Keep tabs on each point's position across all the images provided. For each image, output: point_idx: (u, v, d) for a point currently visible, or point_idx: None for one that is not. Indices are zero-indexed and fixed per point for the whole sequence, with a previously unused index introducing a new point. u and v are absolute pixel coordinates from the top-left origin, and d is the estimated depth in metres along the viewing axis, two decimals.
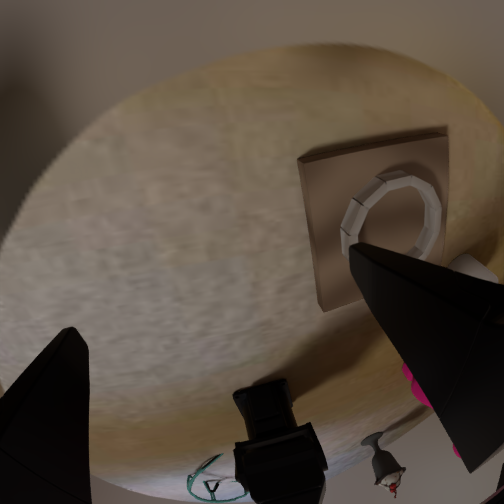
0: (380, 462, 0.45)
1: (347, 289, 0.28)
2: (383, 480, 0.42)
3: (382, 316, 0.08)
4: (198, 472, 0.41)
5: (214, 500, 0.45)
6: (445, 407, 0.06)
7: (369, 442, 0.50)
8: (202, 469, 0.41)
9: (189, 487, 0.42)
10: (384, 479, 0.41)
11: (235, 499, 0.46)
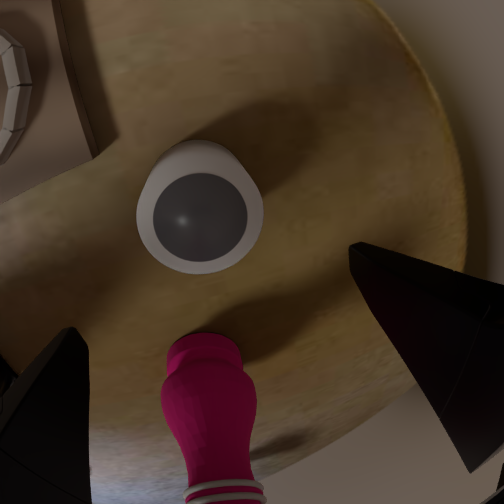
0: None
1: None
2: None
3: (382, 316, 0.08)
4: None
5: None
6: (445, 407, 0.06)
7: None
8: None
9: None
10: None
11: None
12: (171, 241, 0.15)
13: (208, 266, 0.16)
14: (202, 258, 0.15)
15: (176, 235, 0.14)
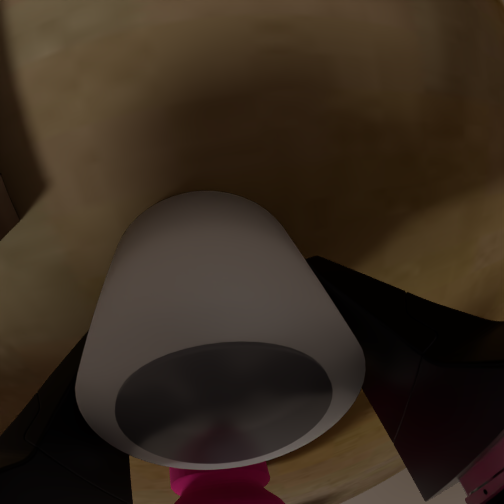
0: None
1: None
2: None
3: None
4: None
5: None
6: (396, 433, 0.06)
7: None
8: None
9: None
10: None
11: None
12: (164, 448, 0.06)
13: (240, 461, 0.07)
14: (230, 460, 0.07)
15: (174, 441, 0.06)
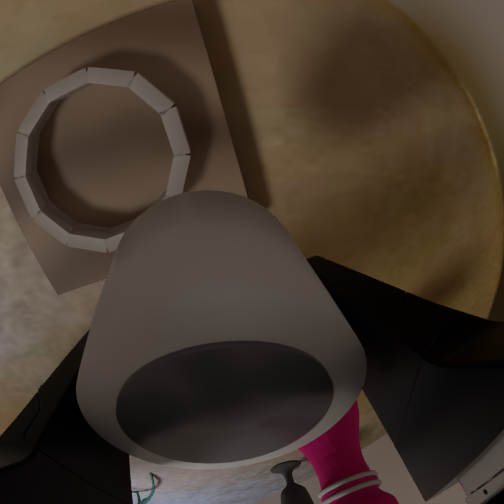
0: (287, 499, 0.35)
1: (73, 262, 0.17)
2: None
3: None
4: None
5: None
6: (396, 433, 0.06)
7: (280, 471, 0.40)
8: None
9: None
10: None
11: None
12: (166, 448, 0.06)
13: (241, 461, 0.07)
14: (230, 459, 0.07)
15: (175, 441, 0.06)
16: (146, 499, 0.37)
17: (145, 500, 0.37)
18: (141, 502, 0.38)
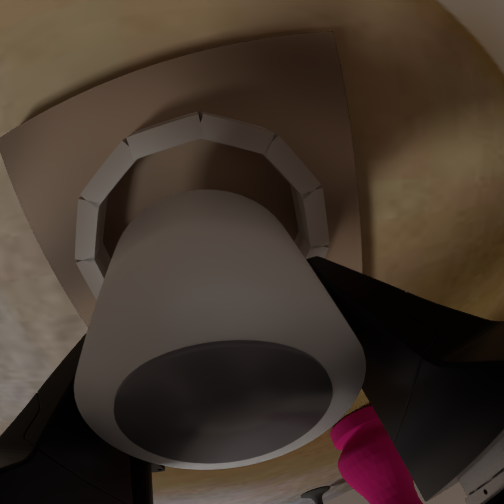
0: None
1: None
2: None
3: None
4: None
5: None
6: (396, 433, 0.06)
7: (311, 497, 0.38)
8: None
9: None
10: None
11: None
12: (164, 447, 0.06)
13: (240, 461, 0.07)
14: (229, 459, 0.07)
15: (174, 441, 0.06)
16: None
17: None
18: None
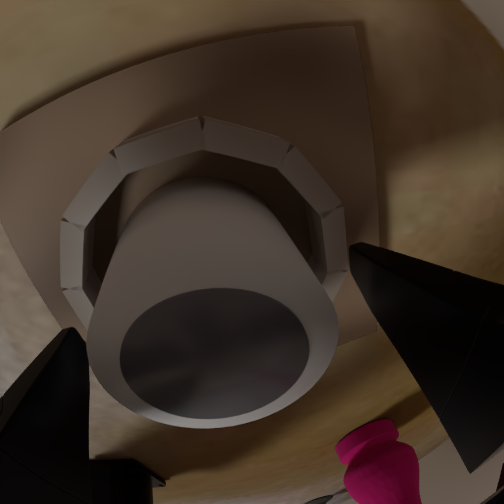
0: None
1: None
2: None
3: (382, 316, 0.08)
4: None
5: None
6: (444, 407, 0.06)
7: None
8: None
9: None
10: None
11: None
12: (162, 399, 0.07)
13: (230, 419, 0.08)
14: (220, 415, 0.08)
15: (170, 391, 0.07)
16: None
17: None
18: None
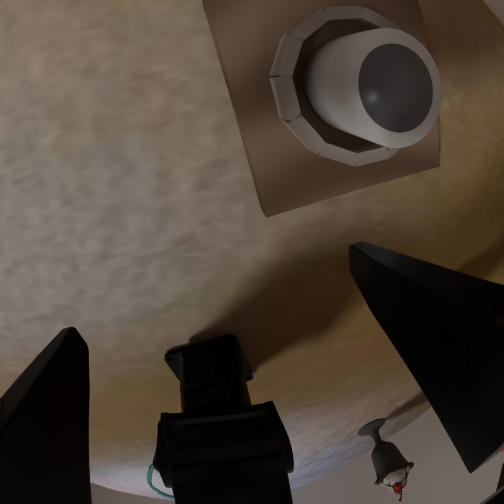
0: (382, 456, 0.36)
1: (298, 179, 0.19)
2: (385, 479, 0.33)
3: (382, 316, 0.08)
4: None
5: None
6: (444, 407, 0.06)
7: (368, 431, 0.42)
8: None
9: (149, 480, 0.34)
10: (386, 478, 0.33)
11: None
12: (373, 104, 0.12)
13: (398, 139, 0.13)
14: (397, 128, 0.13)
15: (379, 98, 0.12)
16: None
17: None
18: None
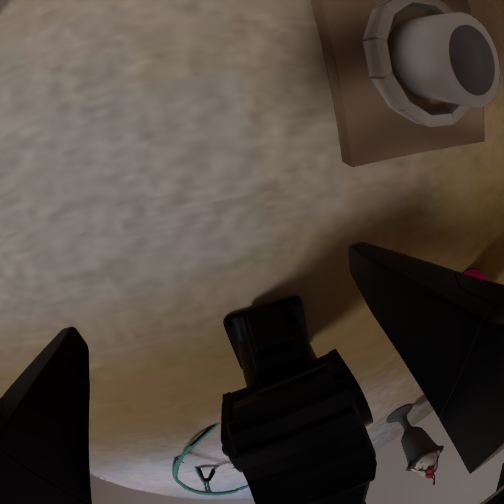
0: (413, 441, 0.36)
1: (381, 134, 0.18)
2: (418, 463, 0.32)
3: (382, 316, 0.08)
4: (186, 450, 0.32)
5: (209, 492, 0.35)
6: (444, 407, 0.06)
7: (397, 417, 0.41)
8: (191, 446, 0.32)
9: (175, 472, 0.33)
10: (419, 462, 0.32)
11: (236, 491, 0.37)
12: (459, 68, 0.12)
13: (474, 101, 0.13)
14: (473, 91, 0.13)
15: (462, 64, 0.12)
16: None
17: None
18: None
